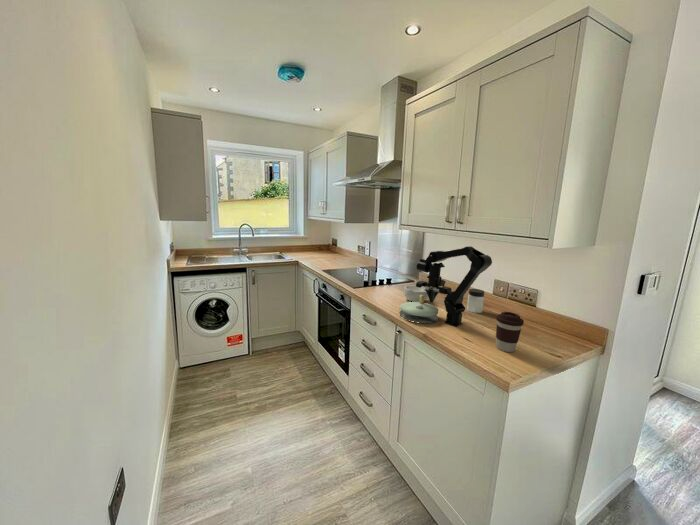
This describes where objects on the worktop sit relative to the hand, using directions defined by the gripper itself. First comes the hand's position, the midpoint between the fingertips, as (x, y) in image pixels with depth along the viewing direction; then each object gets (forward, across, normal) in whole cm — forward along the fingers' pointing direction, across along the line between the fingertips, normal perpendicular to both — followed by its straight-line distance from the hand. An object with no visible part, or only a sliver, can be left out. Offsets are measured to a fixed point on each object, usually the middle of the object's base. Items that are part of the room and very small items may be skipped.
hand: (431, 302), depth 157 cm
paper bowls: (+7, +21, -15) cm, 26 cm away
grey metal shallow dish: (+7, +2, +8) cm, 11 cm away
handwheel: (+3, +2, +8) cm, 9 cm away
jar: (+7, -11, -28) cm, 31 cm away
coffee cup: (+7, -42, +9) cm, 43 cm away
